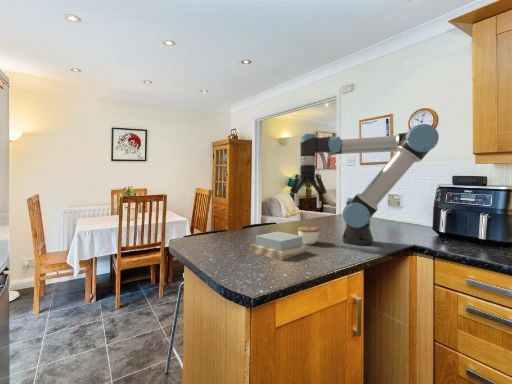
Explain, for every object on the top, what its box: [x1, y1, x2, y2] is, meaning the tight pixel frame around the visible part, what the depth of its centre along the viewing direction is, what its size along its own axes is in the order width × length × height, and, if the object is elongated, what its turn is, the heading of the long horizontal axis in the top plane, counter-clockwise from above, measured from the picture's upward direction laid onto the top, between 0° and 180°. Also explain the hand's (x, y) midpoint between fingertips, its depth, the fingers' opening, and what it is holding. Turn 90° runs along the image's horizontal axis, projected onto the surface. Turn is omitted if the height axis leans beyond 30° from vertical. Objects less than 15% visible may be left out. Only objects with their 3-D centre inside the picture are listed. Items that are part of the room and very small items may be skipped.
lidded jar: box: [297, 224, 320, 245], centre depth 141 cm, size 11×11×9 cm
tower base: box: [249, 243, 308, 261], centre depth 124 cm, size 18×18×4 cm
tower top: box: [255, 231, 303, 251], centre depth 124 cm, size 15×15×4 cm
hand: (307, 206), depth 140 cm, fingers open, 13 cm apart
